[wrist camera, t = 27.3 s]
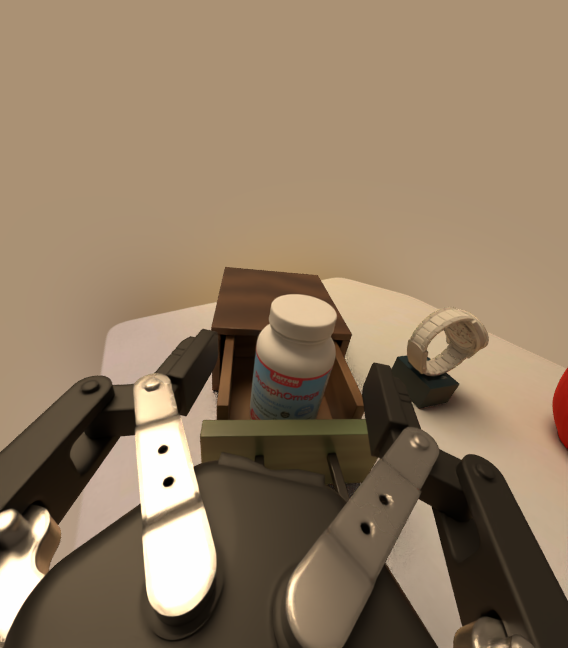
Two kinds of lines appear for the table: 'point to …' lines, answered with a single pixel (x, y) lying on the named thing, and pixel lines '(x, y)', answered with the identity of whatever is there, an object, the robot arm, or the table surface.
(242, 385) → the drawer
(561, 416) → the ceramic cup
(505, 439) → the table surface
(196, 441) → the table surface
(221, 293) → the cabinet
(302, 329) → the pill bottle
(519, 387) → the table surface
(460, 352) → the watch
